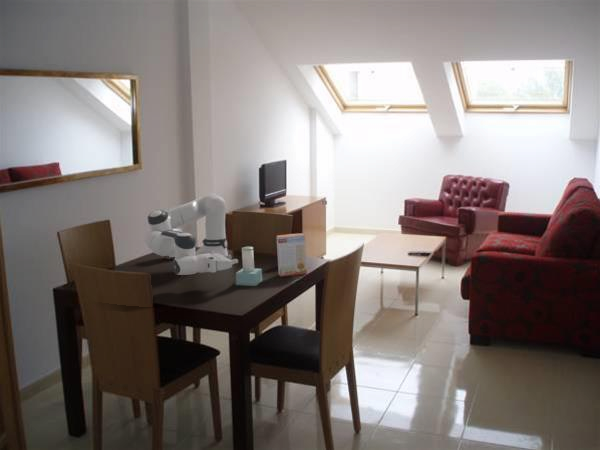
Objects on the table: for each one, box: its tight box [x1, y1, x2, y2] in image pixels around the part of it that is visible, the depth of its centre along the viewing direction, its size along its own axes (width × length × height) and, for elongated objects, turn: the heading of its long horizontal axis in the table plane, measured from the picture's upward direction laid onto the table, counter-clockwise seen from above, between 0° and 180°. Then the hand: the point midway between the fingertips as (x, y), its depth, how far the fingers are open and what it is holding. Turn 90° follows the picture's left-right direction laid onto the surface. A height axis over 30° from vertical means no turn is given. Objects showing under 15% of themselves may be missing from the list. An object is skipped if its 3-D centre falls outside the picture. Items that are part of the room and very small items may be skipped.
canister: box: [241, 246, 255, 272], centre depth 328 cm, size 6×6×12 cm
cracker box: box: [276, 232, 308, 278], centre depth 341 cm, size 14×6×21 cm, turn 102°
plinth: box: [235, 267, 264, 287], centre depth 330 cm, size 11×11×6 cm
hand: (234, 258), depth 324 cm, fingers open, 8 cm apart
